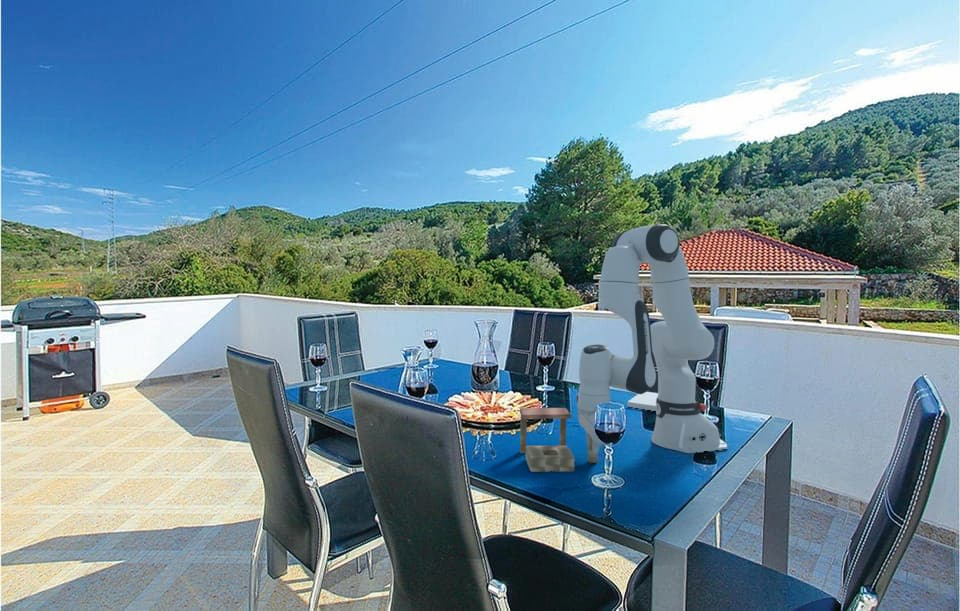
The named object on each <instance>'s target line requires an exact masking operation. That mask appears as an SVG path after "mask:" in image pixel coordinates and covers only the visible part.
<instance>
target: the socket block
mask: <svg viewBox="0 0 960 611" xmlns="http://www.w3.org/2000/svg"><path fill="white" fill-rule="evenodd" d="M525 461H526V463H527V466H528V469H529V471H531V472H534V473H535V472H537V473H538V472H540V473H541V472H547V473H548V472H550V471H552V472H553V471H554V472H575V456H574V454H573V453H572V451H571V449H570V448H569V446H568V445H566V446H559V445H526V453H525ZM550 473H551V472H550Z"/></svg>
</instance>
